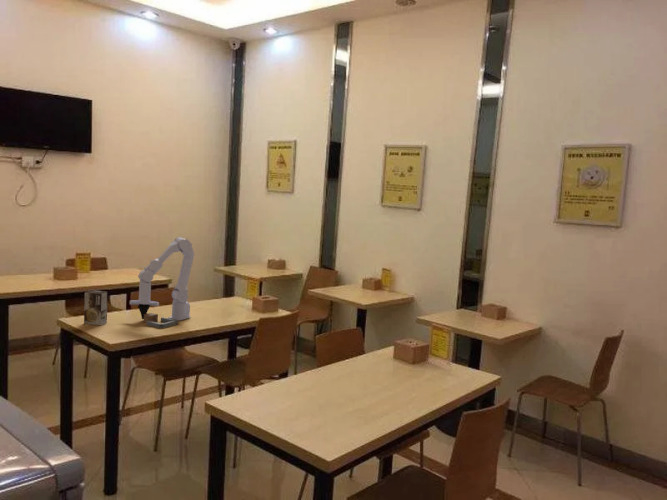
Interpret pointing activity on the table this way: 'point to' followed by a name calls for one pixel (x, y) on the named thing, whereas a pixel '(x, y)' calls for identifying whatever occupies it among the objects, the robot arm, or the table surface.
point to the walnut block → (151, 317)
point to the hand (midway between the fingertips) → (143, 318)
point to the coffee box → (95, 307)
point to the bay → (167, 323)
